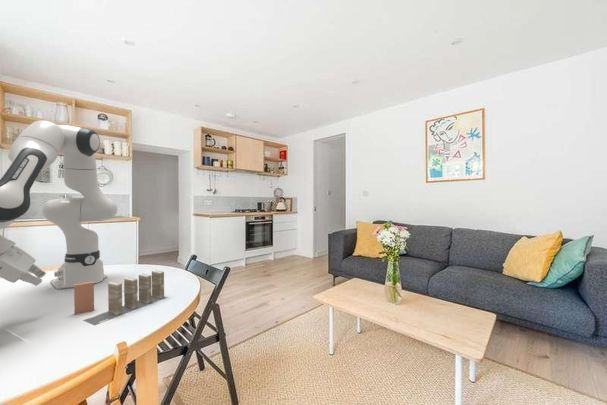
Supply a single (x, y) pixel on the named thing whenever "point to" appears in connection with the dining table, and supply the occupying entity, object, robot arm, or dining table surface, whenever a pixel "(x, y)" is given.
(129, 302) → the domino
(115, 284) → the domino
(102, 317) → the slate mat
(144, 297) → the domino
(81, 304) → the terracotta domino
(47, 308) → the dining table surface
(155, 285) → the domino
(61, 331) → the dining table surface
